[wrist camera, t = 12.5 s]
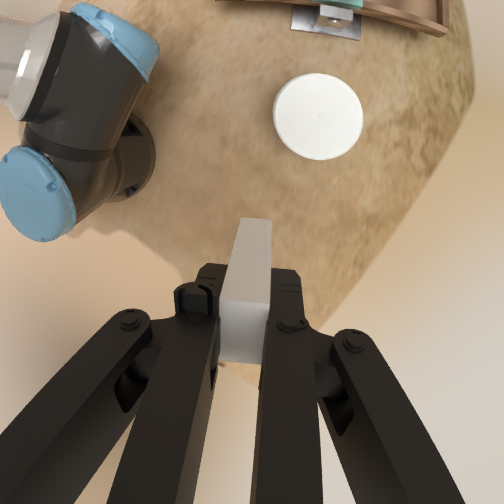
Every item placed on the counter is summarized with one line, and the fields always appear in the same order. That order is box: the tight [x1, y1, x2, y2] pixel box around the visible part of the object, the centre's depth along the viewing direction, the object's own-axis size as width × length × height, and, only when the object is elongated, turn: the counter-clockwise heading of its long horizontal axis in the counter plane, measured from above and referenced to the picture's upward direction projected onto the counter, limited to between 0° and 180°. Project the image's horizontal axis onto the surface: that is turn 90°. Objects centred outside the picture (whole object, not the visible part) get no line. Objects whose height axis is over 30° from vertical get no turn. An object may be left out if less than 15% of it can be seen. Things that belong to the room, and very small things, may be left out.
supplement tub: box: [273, 73, 363, 160], centre depth 34 cm, size 10×10×15 cm
